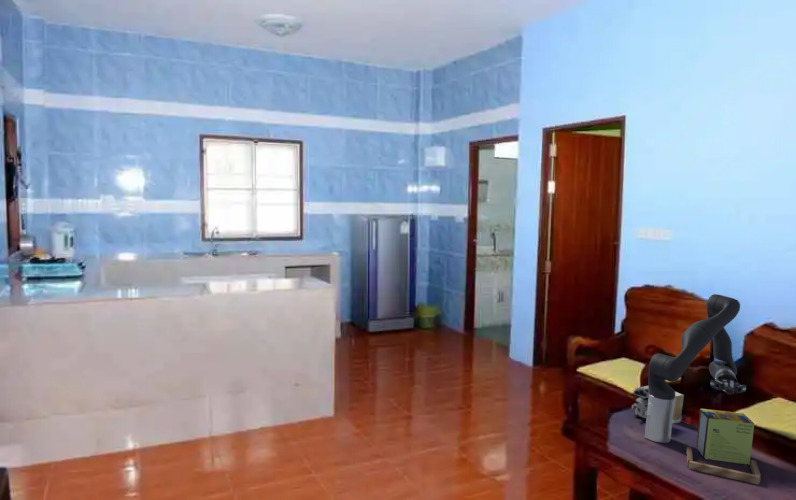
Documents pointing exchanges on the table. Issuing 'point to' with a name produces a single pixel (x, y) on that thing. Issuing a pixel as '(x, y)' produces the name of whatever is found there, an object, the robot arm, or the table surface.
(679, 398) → the skincare box
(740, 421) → the protein box
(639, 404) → the figurine
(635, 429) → the table surface
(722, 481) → the table surface
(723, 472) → the display bay
